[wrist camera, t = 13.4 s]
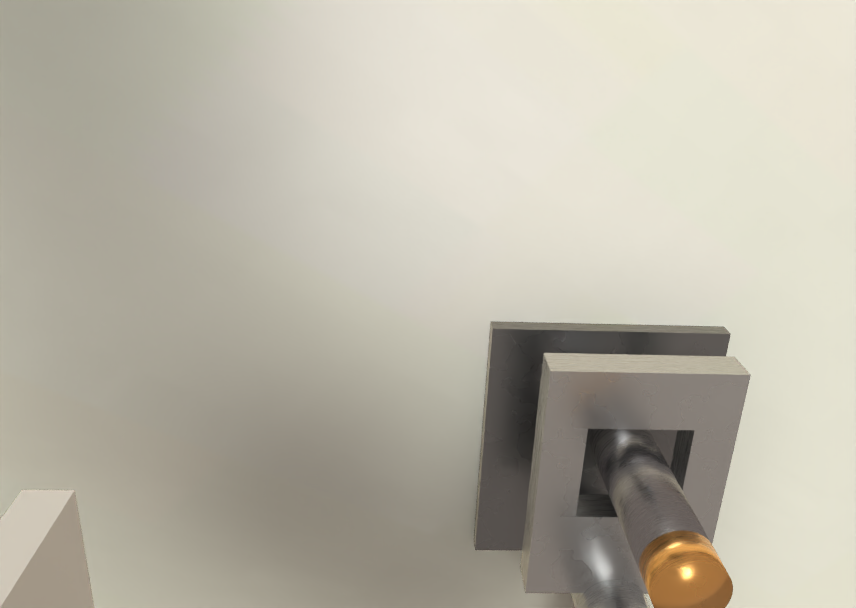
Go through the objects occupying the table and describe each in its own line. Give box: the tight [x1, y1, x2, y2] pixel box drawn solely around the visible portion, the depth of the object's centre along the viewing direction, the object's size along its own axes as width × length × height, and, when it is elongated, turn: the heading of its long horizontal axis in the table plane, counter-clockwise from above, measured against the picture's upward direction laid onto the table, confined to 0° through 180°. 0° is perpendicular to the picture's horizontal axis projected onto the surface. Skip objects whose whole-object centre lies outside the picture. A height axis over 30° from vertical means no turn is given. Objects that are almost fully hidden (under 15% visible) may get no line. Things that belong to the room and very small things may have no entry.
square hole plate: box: [474, 322, 750, 608], centre depth 41 cm, size 17×14×16 cm
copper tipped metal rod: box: [587, 429, 733, 608], centre depth 40 cm, size 3×3×16 cm
